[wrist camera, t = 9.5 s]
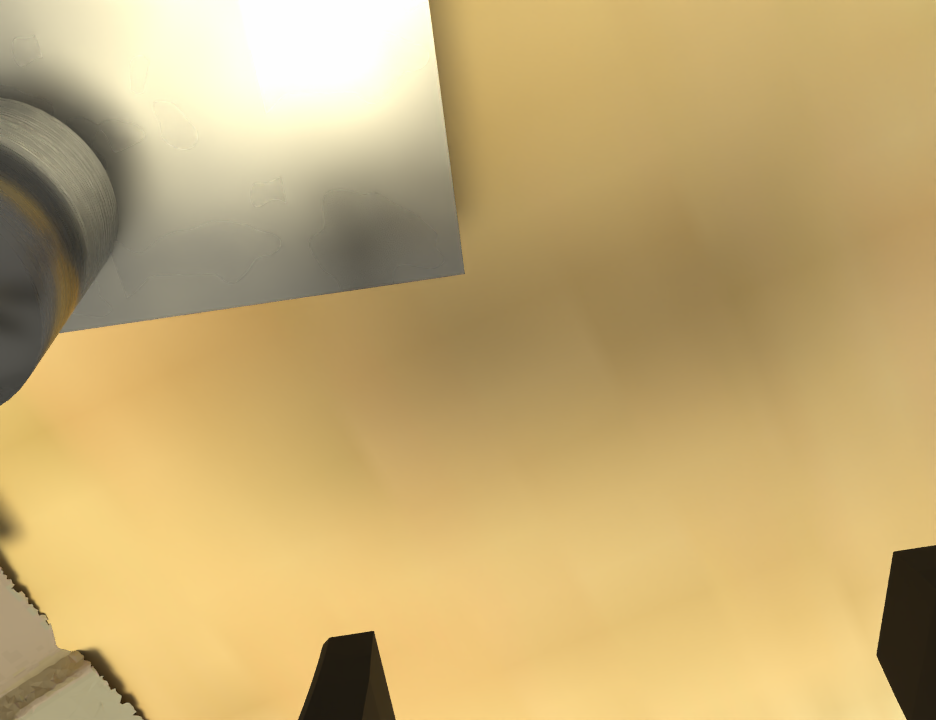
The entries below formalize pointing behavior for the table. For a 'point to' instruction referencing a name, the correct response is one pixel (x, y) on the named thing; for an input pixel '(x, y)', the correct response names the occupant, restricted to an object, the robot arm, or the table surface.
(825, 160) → the table surface
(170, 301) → the silver box with hole
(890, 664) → the robot arm
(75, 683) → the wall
